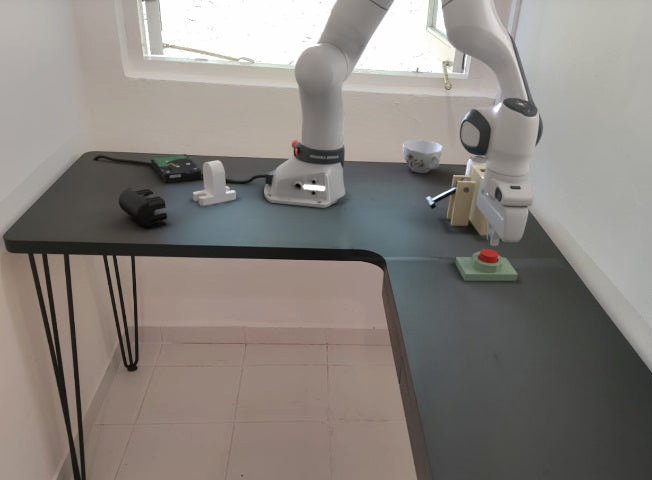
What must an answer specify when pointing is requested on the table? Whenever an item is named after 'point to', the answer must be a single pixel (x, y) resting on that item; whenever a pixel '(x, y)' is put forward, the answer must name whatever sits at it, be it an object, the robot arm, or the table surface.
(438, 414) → the table surface
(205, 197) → the white mounting bracket
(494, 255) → the button
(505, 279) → the green button base
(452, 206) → the lever bracket
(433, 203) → the lever
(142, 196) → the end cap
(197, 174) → the disk drive
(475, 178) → the toaster
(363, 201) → the table surface
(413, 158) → the teacup
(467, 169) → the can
